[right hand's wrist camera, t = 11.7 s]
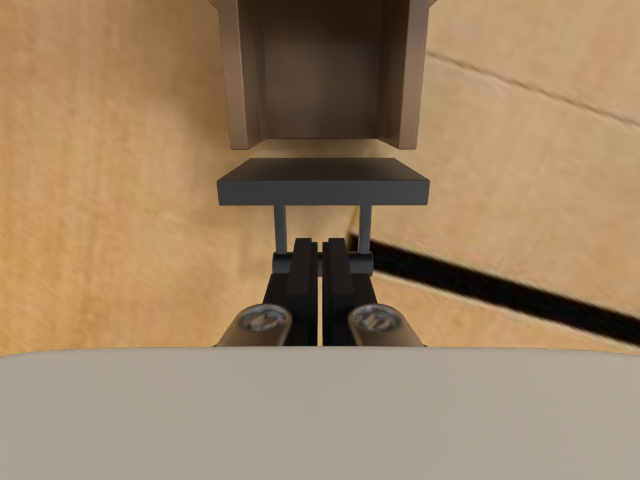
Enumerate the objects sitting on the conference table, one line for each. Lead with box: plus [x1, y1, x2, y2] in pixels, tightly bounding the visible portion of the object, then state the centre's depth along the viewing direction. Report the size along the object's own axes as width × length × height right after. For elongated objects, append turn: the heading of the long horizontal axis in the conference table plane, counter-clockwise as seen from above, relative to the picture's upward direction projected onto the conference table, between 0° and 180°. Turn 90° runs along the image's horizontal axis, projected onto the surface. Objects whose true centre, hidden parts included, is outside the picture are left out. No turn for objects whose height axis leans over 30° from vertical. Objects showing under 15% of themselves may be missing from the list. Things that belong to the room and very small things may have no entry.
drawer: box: [217, 0, 430, 277], centre depth 19 cm, size 19×10×8 cm, turn 0°
